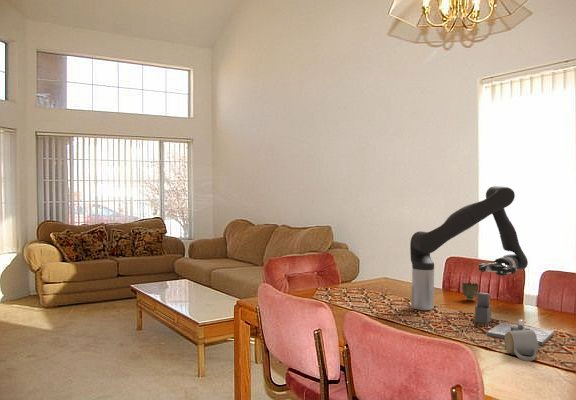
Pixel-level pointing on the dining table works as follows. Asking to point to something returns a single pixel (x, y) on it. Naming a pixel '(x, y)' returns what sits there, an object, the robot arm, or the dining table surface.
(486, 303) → the knob
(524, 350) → the ceramic mug
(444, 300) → the dining table surface
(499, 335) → the base plate
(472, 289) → the cup
